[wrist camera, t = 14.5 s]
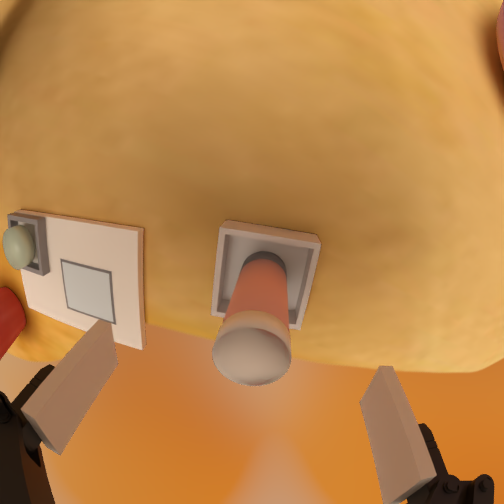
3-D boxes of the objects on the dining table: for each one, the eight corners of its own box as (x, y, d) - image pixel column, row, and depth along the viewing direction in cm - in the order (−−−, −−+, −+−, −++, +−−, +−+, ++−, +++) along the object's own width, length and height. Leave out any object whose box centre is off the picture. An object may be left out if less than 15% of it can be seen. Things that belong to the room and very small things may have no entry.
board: (20, 209, 26) (7, 213, 24) (143, 228, 25) (131, 235, 23) (33, 303, 31) (22, 311, 28) (146, 344, 30) (137, 357, 27)
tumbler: (244, 247, 24) (215, 319, 13) (290, 254, 24) (299, 333, 13) (238, 289, 26) (209, 378, 14) (282, 296, 26) (282, 390, 14)
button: (10, 222, 24) (0, 226, 22) (32, 227, 24) (22, 231, 22) (15, 260, 26) (6, 265, 24) (37, 268, 25) (27, 273, 24)
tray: (226, 219, 24) (219, 227, 22) (316, 234, 24) (321, 243, 21) (217, 299, 27) (210, 315, 24) (298, 313, 27) (300, 330, 24)
